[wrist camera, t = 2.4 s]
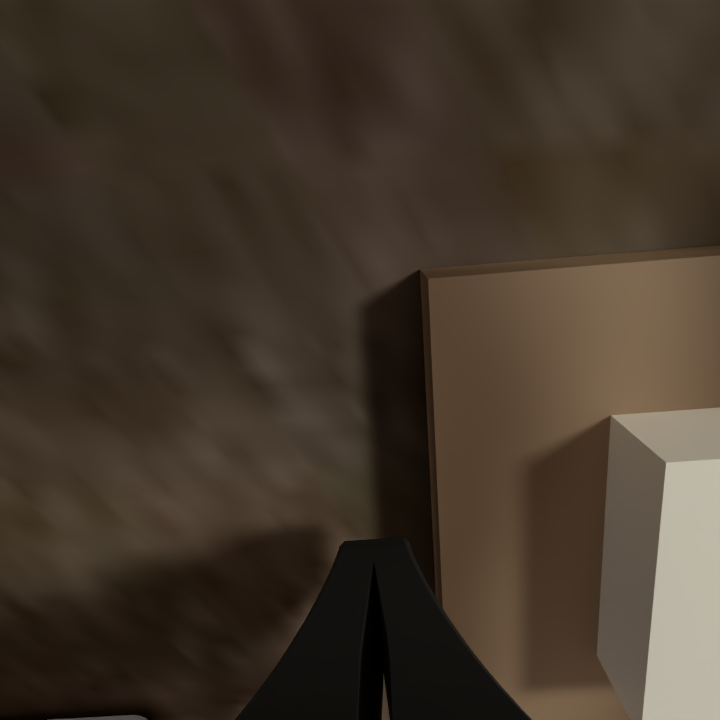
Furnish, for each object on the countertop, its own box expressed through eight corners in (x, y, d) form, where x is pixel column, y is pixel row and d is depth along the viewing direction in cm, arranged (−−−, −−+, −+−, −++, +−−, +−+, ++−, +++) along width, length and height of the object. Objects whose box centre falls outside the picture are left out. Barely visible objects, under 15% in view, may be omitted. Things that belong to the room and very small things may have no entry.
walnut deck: (441, 704, 15) (449, 759, 13) (420, 269, 11) (428, 278, 10) (886, 680, 14) (945, 734, 13) (1005, 222, 11) (1103, 224, 9)
